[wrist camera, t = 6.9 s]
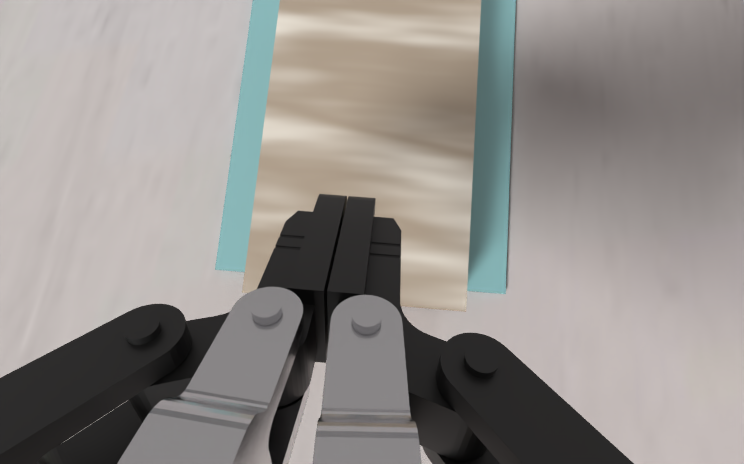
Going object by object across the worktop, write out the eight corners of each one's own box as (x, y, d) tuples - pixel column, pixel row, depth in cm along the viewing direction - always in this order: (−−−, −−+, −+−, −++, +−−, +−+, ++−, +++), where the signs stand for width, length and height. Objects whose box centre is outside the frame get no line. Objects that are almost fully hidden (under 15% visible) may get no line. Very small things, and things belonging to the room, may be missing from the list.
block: (266, 291, 22) (298, 25, 24) (449, 307, 21) (464, 37, 24) (242, 292, 18) (283, -27, 20) (466, 311, 17) (481, -14, 20)
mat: (265, -73, 25) (263, -79, 25) (515, -57, 25) (517, -62, 24) (218, 269, 22) (215, 269, 22) (503, 293, 22) (505, 293, 21)
